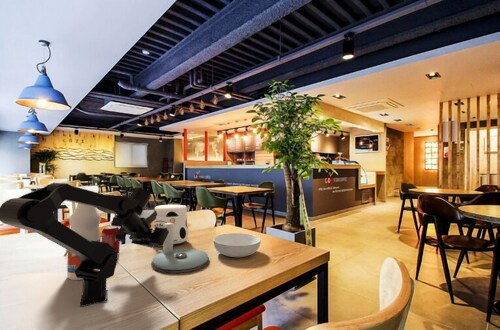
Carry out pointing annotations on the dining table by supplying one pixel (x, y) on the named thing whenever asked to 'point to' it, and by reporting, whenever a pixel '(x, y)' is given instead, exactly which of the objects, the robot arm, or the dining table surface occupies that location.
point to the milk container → (173, 221)
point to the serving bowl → (236, 244)
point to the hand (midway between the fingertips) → (152, 246)
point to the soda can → (110, 236)
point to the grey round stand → (167, 255)
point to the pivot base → (179, 255)
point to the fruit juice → (83, 233)
